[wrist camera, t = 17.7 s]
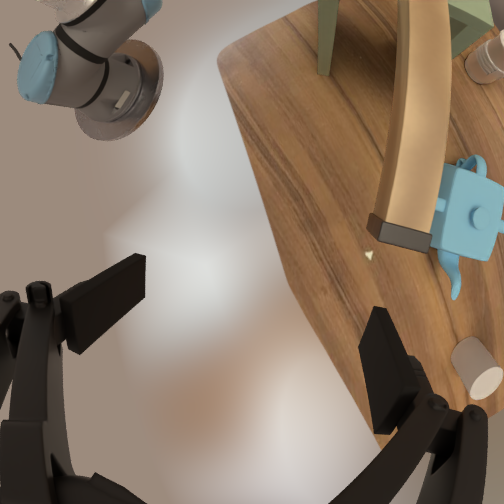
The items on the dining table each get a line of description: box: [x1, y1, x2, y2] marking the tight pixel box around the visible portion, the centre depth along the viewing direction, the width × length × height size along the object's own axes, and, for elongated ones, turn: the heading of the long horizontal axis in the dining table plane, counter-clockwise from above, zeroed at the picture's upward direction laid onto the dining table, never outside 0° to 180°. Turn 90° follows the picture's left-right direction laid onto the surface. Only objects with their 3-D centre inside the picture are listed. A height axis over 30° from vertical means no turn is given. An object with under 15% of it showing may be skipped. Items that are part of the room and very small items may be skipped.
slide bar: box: [366, 0, 452, 254], centre depth 14 cm, size 3×23×4 cm, turn 170°
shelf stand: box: [317, 0, 494, 76], centre depth 25 cm, size 16×12×32 cm
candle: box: [465, 30, 504, 84], centre depth 27 cm, size 7×7×15 cm
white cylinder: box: [451, 337, 503, 400], centre depth 43 cm, size 8×8×12 cm
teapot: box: [429, 155, 504, 300], centre depth 37 cm, size 18×16×14 cm
